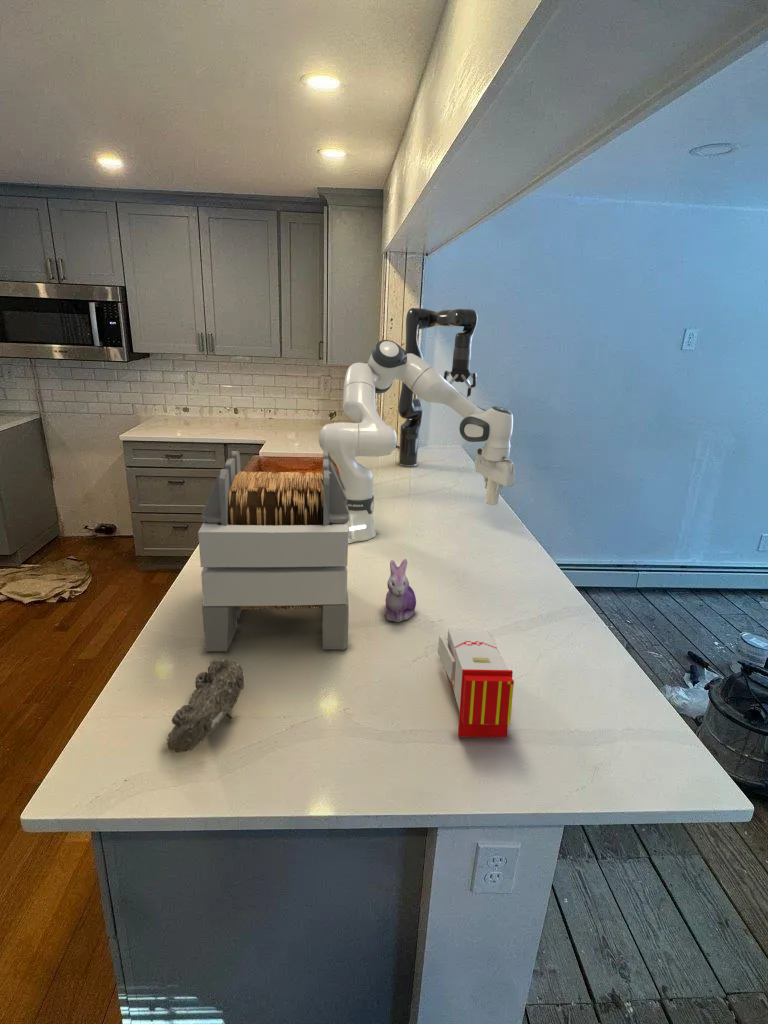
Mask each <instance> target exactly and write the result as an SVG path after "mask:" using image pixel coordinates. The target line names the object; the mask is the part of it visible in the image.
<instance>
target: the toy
mask: <svg viewBox="0 0 768 1024" xmlns="http://www.w3.org/2000/svg"><path fill="white" fill-rule="evenodd" d="M446 640H447V643H446V641H445V639H444V636H443V635H442V634H439V637H438V646H437V656H438V657H439V659H440V661H441V663H442V666H443V668H444V670H445V672H446V674H447V677H448V679H449V681H450V684H451V687H452V690H453V693H454V697H455V701H456V705H457V708H458V711H459V714H458V715H459V716H458V730H457V731H458V732H457V737H458V738H508V731H509V726H510V725H511V717H512V707H513V697H514V696H513V695H514V684H515V680H514V679H513V673H514V671H513V670H512V669H508V667H507V665H506V662H505V661H504V659H503V658H502V655H501V653H500V651H499V649H498V647H497V643H496V639H495V637H494V635H493V634H491V632H490V631H489V629H467V628H466V629H465V628H463V629H461V628H460V629H459V628H448V630H447V639H446Z"/></svg>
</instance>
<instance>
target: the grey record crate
mask: <svg viewBox="0 0 768 1024" xmlns="http://www.w3.org/2000/svg"><path fill="white" fill-rule="evenodd" d="M335 465H336V464H335V462H334V461H333V459H332V458H331V457H330V455H329V452H324V451H322V472H315V473H314V472H312V471H307V472H305V473H304V472H302V473H301V471H300V472H299V471H279V472H273V471H269V472H267V471H242V469H241V468H242V467H241V455H240V450H231V452H230V454H229V457H227V458H226V461H225V464H224V465H223V468H221V469H220V471H219V473H218V475H217V478H216V480H215V482H214V484H213V487H212V489H211V491H210V494H209V496H208V498H207V500H206V503H205V505H204V507H203V509H202V511H201V522H202V524H201V526H200V528H199V529H198V532H197V535H198V544H199V545H198V547H199V548H198V550H199V562H200V568H202V570H201V573H200V574H201V575H200V576H201V587H202V588H201V589H202V602H203V603H202V605H201V608H202V609H201V610H202V611H201V614H202V623H203V633H204V646H205V648H204V651H205V652H206V653H211V652H228V650H229V648H230V645H231V643H232V640H233V638H234V636H235V633H236V631H237V627H238V625H237V620H240V617H241V613H242V610H261V609H262V610H272V609H273V610H274V609H275V610H280V609H281V610H289V609H292V610H293V609H295V610H296V609H308V610H309V609H321V612H322V613H321V615H322V625H321V626H322V627H321V629H322V650H342V651H344V650H346V649H347V648H349V613H350V612H349V611H350V608H349V607H350V606H349V605H350V603H349V595H348V594H349V593H348V556H349V555H348V553H349V552H348V551H349V543H348V526H347V521H348V520H349V509H348V501H347V496H346V489H345V487H344V485H343V483H342V480H341V478H340V474H339V471H338V469H337V468H336V466H335Z"/></svg>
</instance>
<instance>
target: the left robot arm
mask: <svg viewBox="0 0 768 1024" xmlns="http://www.w3.org/2000/svg"><path fill="white" fill-rule="evenodd" d="M394 380H397V381H400V382H401V383H402V382H404V383H405V384H406V386H407V387H408V388H409V389H410V390H411V391H413V392H414V393H413V394H414V395H416V396H417V397H418V398H420V399H421V400H423V401H425V402H427V403H434V404H441V405H445V406H448V407H450V408H451V409H452V410H453V411H455V412H456V413H457V414H458V415H460V416H461V417H462V418H463V419H462V420H461V421H460V424H459V427H458V428H459V434H460V436H461V437H462V438H463V440H465V441H466V442H468V443H482V442H483V443H484V446H482V447H477V448H476V449H475V453H476V456H475V462H474V463H475V464H474V470H475V472H476V473H477V474H479V475H481V476H483V482H484V489H485V490H487V483H488V477H490V478H491V480H493V481H495V482H497V483H496V485H497V487H496V489H494V493H495V494H497V495H498V494H499V495H500V494H501V492H502V491H501V490H502V489H503V487H504V488H508V487H509V488H510V487H513V486H514V485H515V479H516V469H515V465H514V462H513V460H512V459H510V452H511V438H512V436H513V429H514V428H513V427H514V416H513V413H512V411H511V410H510V409H508V408H505V407H504V406H503V407H502V406H492V407H490V408H488V409H485V408H482V407H480V406H478V405H477V404H475V403H474V402H473V401H472V400H471V399H469V397H467V396H465V394H463V393H462V392H460V391H459V390H458V389H457V388H455V387H454V386H453V385H452V384H450V383H449V381H448V380H447V381H446V380H445V379H444V376H442V375H441V374H440V373H439V372H438V371H437V370H436V369H435V368H434V367H433V366H432V365H431V364H429V363H428V362H427V361H425V359H424V360H422V359H421V358H419V357H418V356H416V355H414V354H411V353H409V354H406V352H405V349H404V348H402V346H400V345H399V344H398V343H397V342H395V341H394V340H389V339H381V340H379V341H378V342H377V343H376V344H375V345H374V347H373V348H372V351H371V354H370V357H369V359H368V361H367V363H365V362H355V363H352V364H351V365H350V366H348V368H347V369H346V372H345V376H344V381H343V389H342V411H343V413H344V414H345V416H346V418H348V419H349V420H350V421H352V422H343V421H341V422H340V421H339V422H333V423H332V422H331V423H326V424H324V425H323V427H321V429H320V431H319V433H318V444H319V447H320V449H321V450H322V452H329V455H330V457H331V459H332V461H333V463H334V465H336V467H337V468H336V469H337V471H338V474H339V476H340V478H341V480H342V483H343V485H344V487H345V489H346V496H347V501H348V509H349V520H348V521H347V526H348V544H352V543H357V542H365V541H368V540H372V539H373V538H375V537H376V535H377V532H376V528H375V523H374V513H373V512H374V509H375V496H374V474H373V472H372V471H371V469H369V468H368V467H366V466H364V465H362V464H361V463H359V462H358V461H357V460H356V458H357V457H367V458H379V457H386V456H390V455H392V454H393V453H394V452H395V450H396V448H397V447H396V445H398V435H397V432H396V431H395V429H394V428H393V427H392V426H391V425H389V424H388V423H387V422H385V421H384V420H383V419H382V417H381V416H380V415H379V413H378V411H377V404H376V394H384V393H386V392H388V391H389V390H390V389H391V387H392V386H393V383H394Z"/></svg>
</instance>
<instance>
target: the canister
mask: <svg viewBox="0 0 768 1024" xmlns="http://www.w3.org/2000/svg"><path fill="white" fill-rule="evenodd" d="M496 483H497V482H495V481H493V480H491V478H490V477H488V483H487V489H486V492H485V501H484V502H485V504H487V505H490V506H497V505H498V504H499V499H500V494H498V495H497V494H495V493H494V489H496V487H497V485H496Z"/></svg>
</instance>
